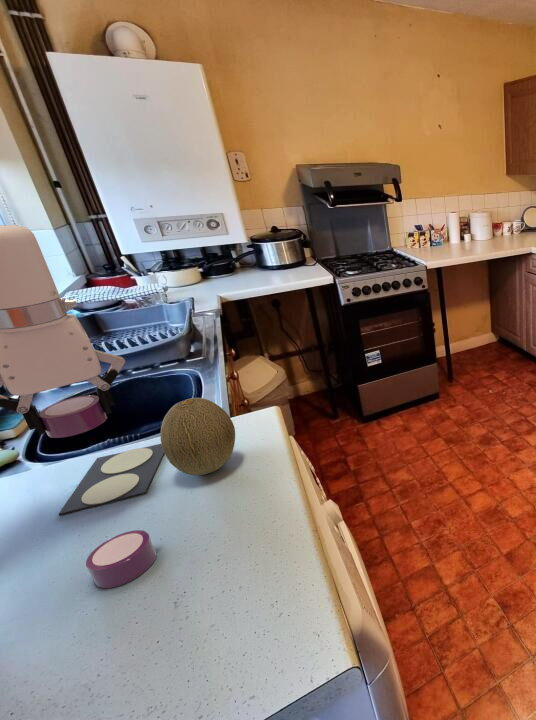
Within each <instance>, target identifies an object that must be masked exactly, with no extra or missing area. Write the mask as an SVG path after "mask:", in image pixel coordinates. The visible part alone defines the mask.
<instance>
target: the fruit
mask: <svg viewBox="0 0 536 720" xmlns="http://www.w3.org/2000/svg"><path fill="white" fill-rule="evenodd" d="M235 442H236V428H235V425H234V423H233V421H232V418H231V417H230V415H229V414H228V413H227V412H226V410H225V409H223V408H222V407H221V406H220V405H219V404H217V403H215V402H214V401H213V400H209V399H207V398H203V397H191V398H188V399H184V400H182V401H181V400H180V401H178V402H177V403H175V404H174V405H173V406H171V408H170V409H169V410H168V411H167V413H166V414H165V415H164V417H163V419H162V423H161V427H160V444H161V445H162V449H163V451H164V453H165V454H164V456H165V457H166V458H167V461H168V462H169V463H170V464H171V465H172V466H173V467H174V468H175V469H176V470H178V471H180V473H184V474H187V475H191V476H202V475H207V474H211V473H214V472H216V471H217V470H219V469H220V468H222V467H223V466H225V464H226V463H227V462H228V460H229V459H231V456H232V455H233V452H234V448H235Z"/></svg>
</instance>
